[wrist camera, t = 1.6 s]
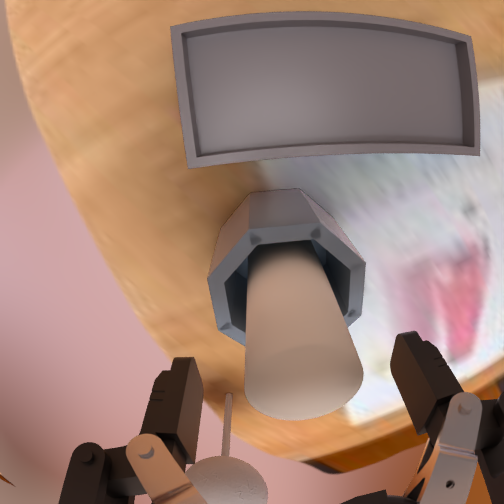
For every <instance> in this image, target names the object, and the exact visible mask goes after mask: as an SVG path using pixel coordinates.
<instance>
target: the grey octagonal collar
mask: <svg viewBox="0 0 504 504" xmlns="http://www.w3.org/2000/svg"><path fill="white" fill-rule="evenodd" d="M310 239H311V242H312V244H313V246H314V248H315V251H316V253H317V255H318V258H319V260H320V262H321V265H322V267H323V269H324V272H325V274H326V276H327V279H328V281H329V283H330V286H331V288H332V291H333V293H334V295H335V298H336V300H337V303H338V305H339V308H340V310H341V313H342V315H343V318H344V320H345V323H346V325H347V328H348V327H349V326H350V325H351V324H352V323H353V322H354V321H355V320H357V319H358V318H359V317H360V316H361V313H362V303H363V292H364V279H365V265H366V262H365V261H364V259H363V258H362V257H361V255H360V254H359V252H358V251H357V249H356V248H355V247H354V245H353V244H352V242H351V241H350V240H349V238H348V237H347V236H346V234H345V233H344V231H343V230H342V229H341V227H340V226H339V225H338V223H337V222H336V221H335V219H334V218H333V217H332V216H331V215H330V214H328V213H327V212H326V211H325V210H324V209H323V208H322V207H320V206H319V205H318V204H317V203H316V202H315V201H313V200H312V199H311V198H310V197H309V196H308V195H306V194H305V193H304V192H303V191H302V190H301V189H299V188H296V189H285V190H274V191H264V192H254V193H249V195H248V196H247V197H246V198H245V199H244V201H243V202H242V203H241V204H240V206H239V207H238V208H237V209H236V210H235V212H234V213H233V214H232V215H231V217H230V218H229V219H228V220H227V221H226V223H225V224H224V225H223V226H222V228H221V229H220V232H219V236H218V240H217V243H216V247H215V251H214V255H213V258H212V262H211V266H210V270H209V274H208V277H207V280H208V285H209V290H210V295H211V299H212V304H213V309H214V314H215V318H216V323H217V327H218V330H219V331H220V332H222V333H223V334H225V335H227V336H228V337H230V338H232V339H233V340H235V341H237V342H239V343H240V344H242V345H244V346H245V345H246V309H247V275H248V255H249V254H250V253H251V252H252V251H253V249H254V248H255V247H256V246H257V245H259V244H269V243H279V242H290V241H300V240H310Z"/></svg>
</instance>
